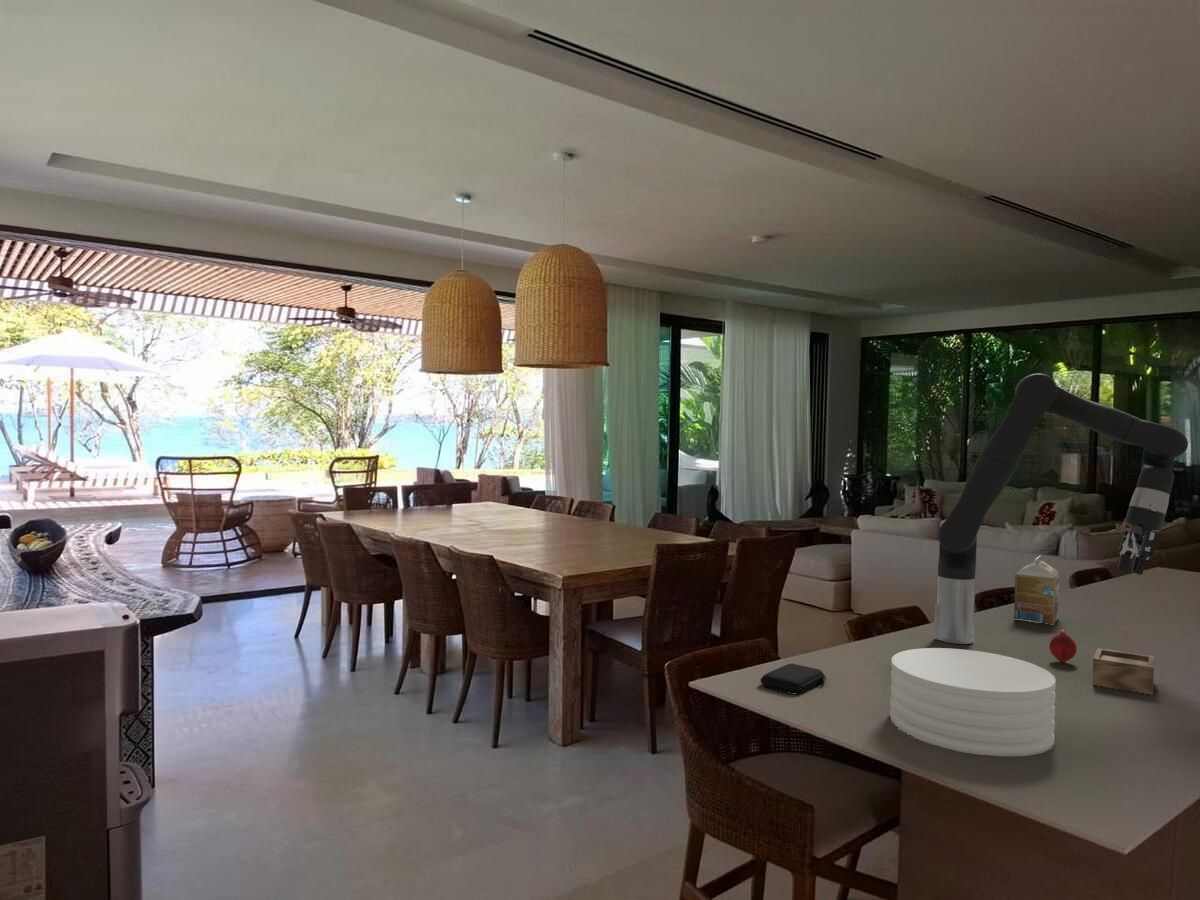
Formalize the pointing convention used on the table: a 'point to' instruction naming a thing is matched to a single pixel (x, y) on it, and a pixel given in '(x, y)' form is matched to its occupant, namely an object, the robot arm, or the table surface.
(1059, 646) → the onion
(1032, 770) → the table surface
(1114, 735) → the table surface
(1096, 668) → the wooden tray
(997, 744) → the plate stack
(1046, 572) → the milk carton
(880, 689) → the table surface
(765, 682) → the carrying case or bag
